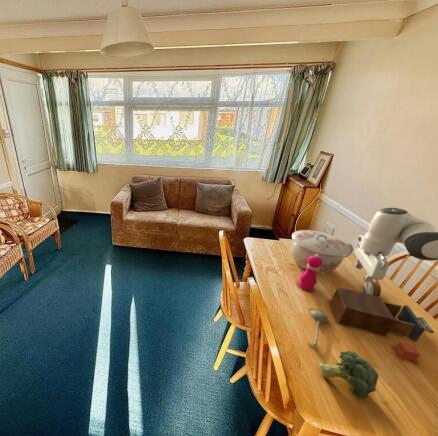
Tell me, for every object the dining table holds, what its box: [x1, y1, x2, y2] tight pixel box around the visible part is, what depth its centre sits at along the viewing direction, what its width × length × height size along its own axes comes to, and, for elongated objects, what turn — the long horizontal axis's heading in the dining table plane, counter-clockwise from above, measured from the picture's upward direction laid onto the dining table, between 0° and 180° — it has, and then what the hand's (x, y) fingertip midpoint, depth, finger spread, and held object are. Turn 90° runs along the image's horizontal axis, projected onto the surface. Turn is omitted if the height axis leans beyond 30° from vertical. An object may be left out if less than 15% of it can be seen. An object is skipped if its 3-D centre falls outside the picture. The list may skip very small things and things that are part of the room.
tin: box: [363, 278, 382, 297], centre depth 112 cm, size 15×3×8 cm, turn 148°
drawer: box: [383, 300, 435, 343], centre depth 94 cm, size 19×12×7 cm, turn 66°
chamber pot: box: [290, 229, 354, 274], centre depth 130 cm, size 28×28×21 cm
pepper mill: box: [298, 254, 323, 291], centre depth 115 cm, size 7×7×20 cm
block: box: [395, 341, 421, 363], centre depth 84 cm, size 4×4×4 cm
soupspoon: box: [310, 309, 329, 349], centre depth 95 cm, size 22×3×7 cm
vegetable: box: [318, 350, 379, 399], centre depth 75 cm, size 12×13×15 cm
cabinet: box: [330, 286, 395, 337], centre depth 99 cm, size 16×14×9 cm
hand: (361, 274), depth 97 cm, fingers open, 8 cm apart
